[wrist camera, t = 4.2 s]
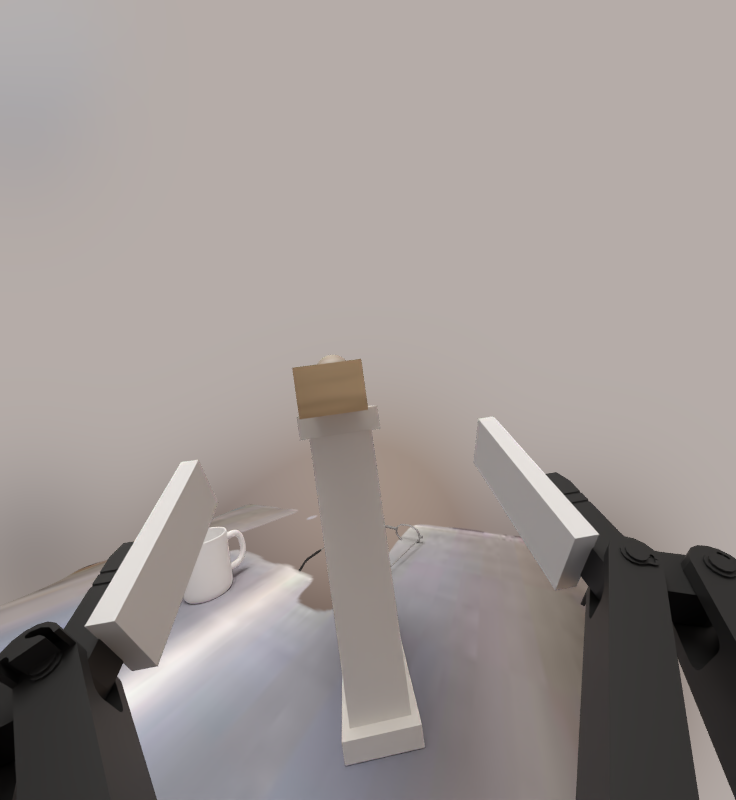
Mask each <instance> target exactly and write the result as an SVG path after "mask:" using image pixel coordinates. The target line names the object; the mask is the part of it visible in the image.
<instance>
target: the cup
mask: <svg viewBox="0 0 736 800" xmlns="http://www.w3.org/2000/svg"><path fill="white" fill-rule="evenodd" d="M233 536H236V537H237V538H238V540H239V544H240V554H239V557H238V558H237V559H236V560H235V561H234V562H232V563H231V561H230V553H229V546H228V539H230V538H231V537H233ZM245 553H246V545H245V540H244V537H243V535H242V533H241V532H240V531H238V530H232V531H229V532H227V531H226V528H224V527H212V528H209V529H208V531H207V534H206V537H205V539H204V542H203V545H202V548H201V550H200V553H199V556H198V558H197V561H196V564H195V566H194V569H193V572H192V575H191V577H190V580H189V583H188V585H187V588H186V591H185V594H184V596H183V598H184V600H185V601H186V602H187V603H189V604H200V603H204V602H207V601H210V600H213V599H215V598H217V597H219V596H220V595H222V594H223V593H225V592H226V591H227V590H228V589H229V588H230V586H231V584H232V581H233V576H232V570H233V569H234V568H236V567H237V566H238V565H239V564H240V563H241V562H242V561H243V559H244V557H245Z"/></svg>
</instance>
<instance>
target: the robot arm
mask: <svg viewBox="0 0 736 800" xmlns="http://www.w3.org/2000/svg"><path fill="white" fill-rule="evenodd" d="M474 464H475V466H476V467H477V469H478V470H479V472H480V473H481V475H482V477H483V478H484V480H485V481H486V483H487V484H488V486H489V487H490V489H491V490H492V492H493V494H494V495H495V497H496V498H497V500H498V502H499V503H500V505H501V506H502V508H503V509H504V511H505V512H506V514H507V516H508V517H509V519H510V520H511V522H512V523H513V525H514V527H515V528H516V530H517V531H518V533H519V534H520V536H521V538H522V539H523V541H524V542H525V544H526V545H527V547H528V549H529V550H530V552H531V553H532V555H533V556H534V558H535V559H536V561H537V563H538V564H539V566H540V567H541V569H542V570H543V572H544V574H545V575H546V577H547V578H548V580H549V581H550V583H551V584H552V586H553V588H554V589H555V590H560V589H565V588H571V587H576V586H577V584H578V581H579V579H580V577H582V578H583V579H584V581H585V582H586V584H587V585H588V586H589V587H588V589H587V591H586V593H585V595H584V597H583V599H582V602H581V605H583V606H585V604H586V612H585V632H584V651H583V671H582V690H581V709H580V729H579V748H578V767H577V787H576V800H699V795H698V789H697V782H696V775H695V769H694V763H693V756H692V750H691V744H690V736H689V730H688V723H687V717H686V710H685V704H684V697H683V690H682V684H681V678H680V671H679V664H678V660H679V662H680V665H681V667H682V669H683V672H684V675H685V677H686V680H687V682H688V684H689V686H690V689H691V692H692V694H693V696H694V699H695V702H696V704H697V706H698V709H699V711H700V714H701V716H702V719H703V721H704V724H705V726H706V729H707V731H708V733H709V736H710V738H711V741H712V743H713V746H714V748H715V751H716V753H717V755H718V758H719V760H720V763H721V765H722V768H723V770H724V773H725V775H726V778H727V780H728V782H729V785H730V787H731V790H732V792H733V795H734V797H735V800H736V559H735V558H734V557H732V556H731V555H729V554H727V553H725V552H723V551H721V550H719V549H715V548H712V547H709V546H699V545H697V546H694V547H691V548H690V550H689V551H688V553H687V554H686V555H681V554H673V553H665V552H657V551H654V550H653V549H651V548H650V547H649V546H647V545H646V544H644V543H642V542H640V541H638V540H636V539H634V538H628V537H625V536H623V535H622V534H621V533H620V532H619V531H618V530H617V529H616V528H615V527H614V526H613V525H612V524H611V523H610V522H609V521H608V520H607V519H606V517H605V516H604V515H603V514H601V512H600V511H599V510H598V509H597V508H596V507H595V506H594V505H593V504H592V503H591V502H589V501H588V499H587V498H586V497H585V496H584V495H583V494H582V493H580V491H579V490H578V489H577V488H576V487H575V486H574V484H573V483H572V482H571V481H569V480H568V479H566V478H565V477H563V476H561V475H560V474H558V473H556V472H555V473H549V474H545V473H544V472H543V471H542V470H541V469H540V468H539V467H538V466H537V464H536V463H535V462H534V461H533V460H532V459H531V458H530V457H529V456H528V454H527V453H526V452H525V451H524V450H523V449H522V448H521V447H520V445H519V444H518V443H517V442H516V441H515V440H514V439H513V438H512V437H511V436H510V434H509V433H508V432H507V431H506V430H505V429H504V428H503V426H502V425H501V424H500V423H499V422H498V421H497V420H496V419H495V418H494V417H487V418H480V419H478V427H477V436H476V445H475V454H474ZM217 504H218V501H217V499H216V497H215V494H214V492H213V490H212V488H211V486H210V484H209V481H208V479H207V477H206V475H205V473H204V471H203V468H202V466H201V464H200V462H199V460H194V461H187V462H181V463H180V465H179V467H178V468H177V470H176V472H175V473H174V475H173V477H172V479H171V480H170V482H169V484H168V485H167V487H166V489H165V490H164V492H163V494H162V496H161V497H160V499H159V501H158V502H157V504H156V506H155V507H154V509H153V511H152V512H151V514H150V516H149V518H148V520H147V521H146V523H145V524H144V526H143V528H142V530H141V531H140V533H139V535H138V536H137V538H136V540H135V541H134V542H128V543H123V544H122V545H121V546H120V547H119V548H118V549H117V550H116V551H115V552H114V553H113V554H112V555H111V556H110V557H109V559H108V560H107V562H106V564H105V565H104V567H103V568H102V570H101V571H100V575H98V576H97V578H96V579H95V581H94V583H93V584H92V585H93V586H92V587H91V588H90V589H89V590H88V592H87V594H86V595H85V597H84V598H83V600H82V601H81V603H80V605H79V606H78V608H77V609H76V611H75V612H74V614H73V616H72V617H71V619H70V620H69V622H68V623H67V625H66V627H65V628H64V630H63V629H62V628H61V627H60V626H59V625H58V624H57V623H54V622H45V623H41V624H38V625H36V626H34V627H32V628H30V629H28V630H26V631H24V632H23V633H22V634H21V635H19V636H18V637H17V638H15V639H14V640H13V641H12V642H11V643H10V644H9V645H8V646H7V647H6V648H5V649H4V650H3V651H2V652H1V653H0V800H157V798H156V795H155V792H154V788H153V785H152V782H151V778H150V775H149V772H148V768H147V765H146V762H145V759H144V755H143V752H142V749H141V745H140V742H139V739H138V735H137V732H136V729H135V726H134V722H133V719H132V716H131V712H130V709H129V706H128V702H127V699H126V696H125V693H124V689H123V686H122V683H121V681H120V679H119V678H118V677H117V675H118V673H119V671H120V669H121V666H122V664H123V663H124V664H125V665H126V666H127V667H128V668H129V669H130V670H132V671H135V670H140V669H145V668H151V667H156V666H158V664H159V661H160V658H161V656H162V653H163V650H164V648H165V645H166V642H167V640H168V637H169V634H170V631H171V629H172V626H173V623H174V621H175V618H176V615H177V612H178V610H179V607H180V604H181V602H182V599H183V596H184V594H185V591H186V588H187V585H188V583H189V580H190V577H191V575H192V572H193V569H194V566H195V564H196V561H197V558H198V556H199V553H200V550H201V548H202V545H203V542H204V539H205V537H206V534H207V531H208V529H209V526H210V523H211V521H212V518H213V515H214V512H215V510H216V507H217ZM677 657H678V658H677Z"/></svg>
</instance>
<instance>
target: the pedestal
mask: <svg viewBox="0 0 736 800" xmlns="http://www.w3.org/2000/svg"><path fill="white" fill-rule="evenodd" d="M297 422H298V429H299V437H300V440H305V439H310V445H311V452H312V460H313V467H314V474H315V481H316V489H317V496H318V503H319V510H320V517H321V525H322V532H323V539H324V546H325V554H326V561H327V568H328V575H329V582H330V589H331V597H332V604H333V611H334V619H335V626H336V633H337V640H338V647H339V655H340V662H341V669H342V747H343V755H344V762H345V766H347V765H352V764H356V763H360V762H365V761H369V760H373V759H378V758H382V757H386V756H390V755H395V754H399V753H403V752H408V751H412V750H416V749H421V748H425V744H424V737H423V730H422V723H421V719H420V715H419V711H418V707H417V703H416V699H415V695H414V691H413V686H412V682H411V678H410V674H409V670H408V666H407V662H406V658H405V654H404V650H403V645H402V641H401V637H400V629H399V622H398V615H397V608H396V601H395V594H394V587H393V579H392V572H391V565H390V558H389V551H388V544H387V537H386V529H385V522H384V515H383V508H382V501H381V494H380V486H379V480H378V473H377V465H376V458H375V451H374V444H373V437H372V430H373V429H380V423H379V415H378V409H377V406H368V410H363V411H356V412H349V413H342V414H335V415H328V416H321V417H313V418H306V419H299V417H297Z"/></svg>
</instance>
